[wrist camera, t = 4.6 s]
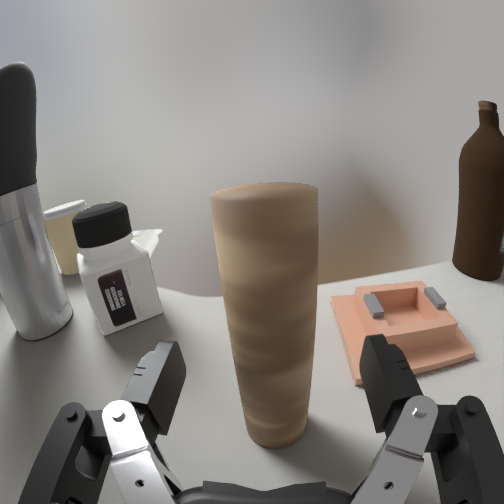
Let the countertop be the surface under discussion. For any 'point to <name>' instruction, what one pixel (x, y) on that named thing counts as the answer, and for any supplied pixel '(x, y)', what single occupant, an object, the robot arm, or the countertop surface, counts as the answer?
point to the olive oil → (481, 200)
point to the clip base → (401, 325)
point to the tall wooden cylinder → (270, 301)
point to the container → (114, 268)
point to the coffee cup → (64, 234)
